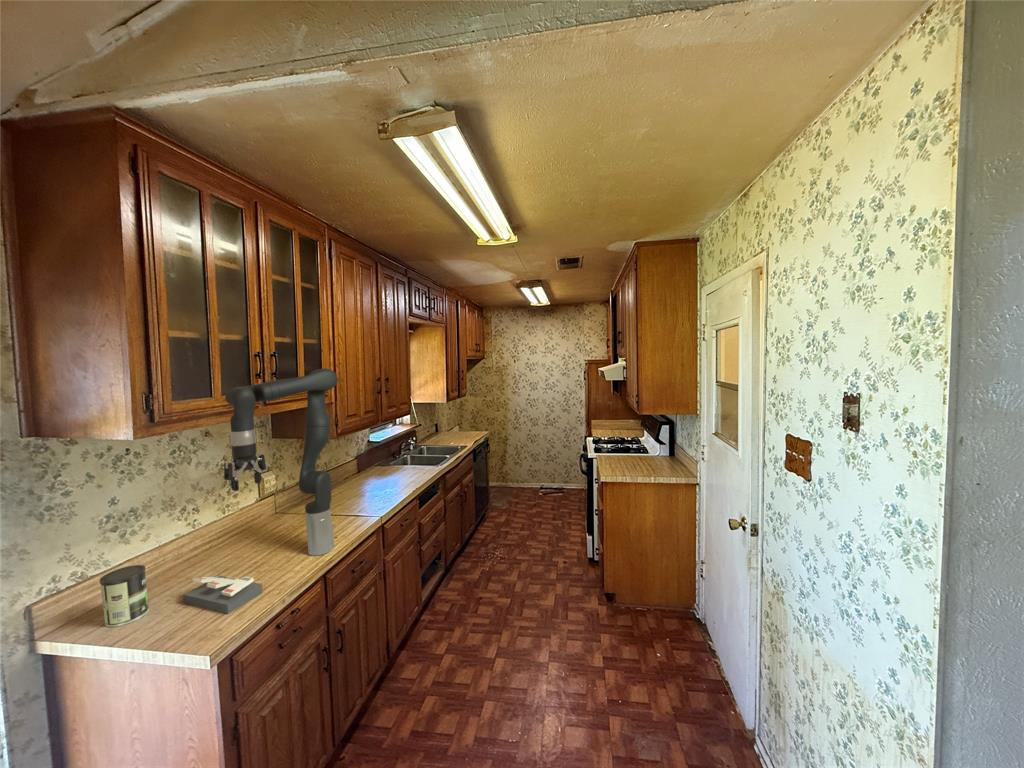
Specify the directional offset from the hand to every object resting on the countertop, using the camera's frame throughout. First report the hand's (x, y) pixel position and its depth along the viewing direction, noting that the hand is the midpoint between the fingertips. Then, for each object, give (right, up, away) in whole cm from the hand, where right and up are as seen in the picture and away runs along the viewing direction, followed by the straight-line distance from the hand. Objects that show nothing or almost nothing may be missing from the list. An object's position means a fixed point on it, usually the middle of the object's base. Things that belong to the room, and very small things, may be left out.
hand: (247, 486), depth 149 cm
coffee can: (-24, -36, -21) cm, 48 cm away
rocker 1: (-7, -29, -10) cm, 32 cm away
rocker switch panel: (0, -34, -12) cm, 36 cm away
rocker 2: (0, -29, -13) cm, 32 cm away
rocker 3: (+7, -29, -15) cm, 34 cm away
